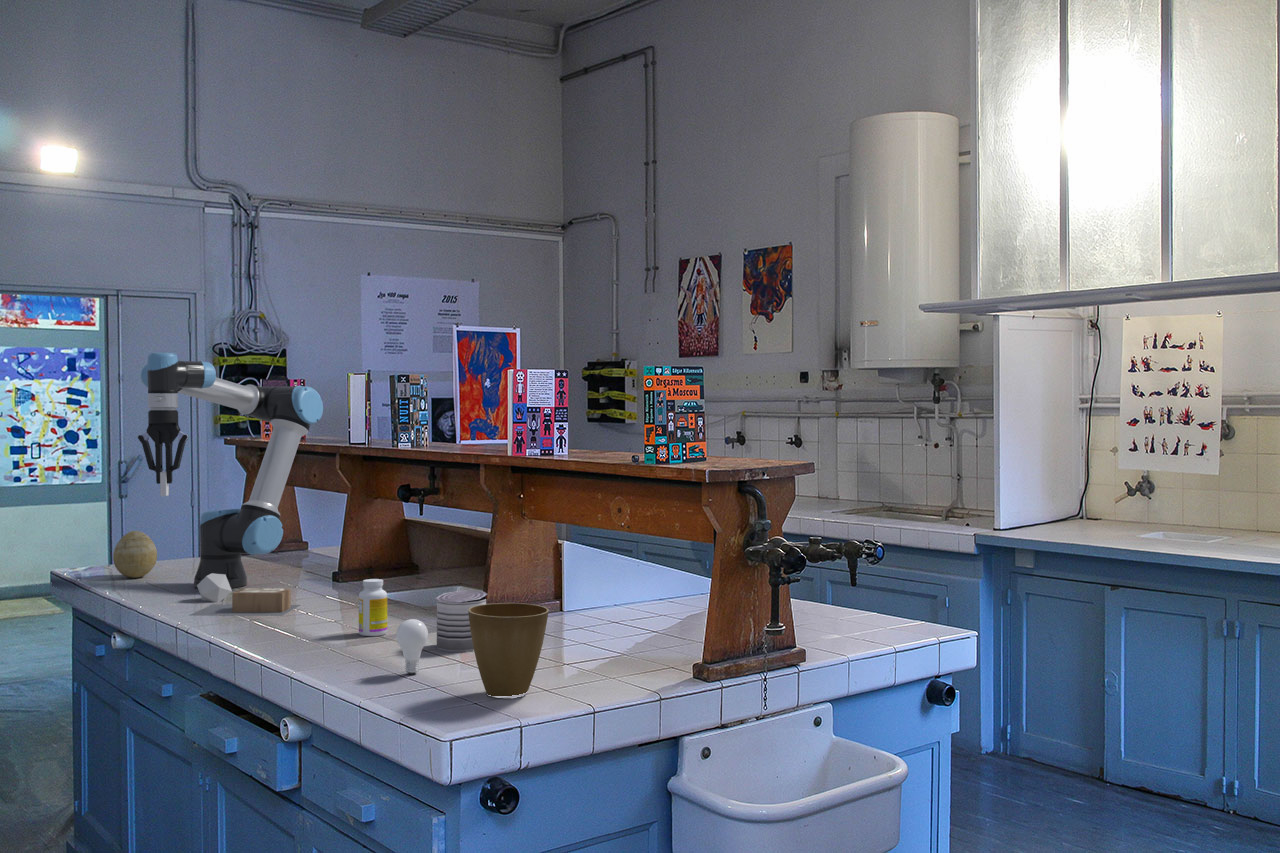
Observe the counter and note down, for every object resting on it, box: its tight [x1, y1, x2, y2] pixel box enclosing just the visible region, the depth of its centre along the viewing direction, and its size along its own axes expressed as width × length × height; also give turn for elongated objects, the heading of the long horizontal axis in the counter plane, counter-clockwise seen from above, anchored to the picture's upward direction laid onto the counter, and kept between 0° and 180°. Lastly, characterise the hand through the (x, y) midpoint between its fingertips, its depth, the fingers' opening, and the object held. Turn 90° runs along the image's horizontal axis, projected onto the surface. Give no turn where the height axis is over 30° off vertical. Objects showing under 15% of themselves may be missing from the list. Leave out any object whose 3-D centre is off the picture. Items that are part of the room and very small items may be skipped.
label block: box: [231, 588, 292, 612], centre depth 285 cm, size 7×5×13 cm
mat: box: [189, 604, 301, 617], centre depth 285 cm, size 16×24×1 cm, turn 91°
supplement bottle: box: [358, 578, 388, 637], centre depth 257 cm, size 7×7×13 cm
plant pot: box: [468, 602, 550, 696], centre depth 201 cm, size 15×15×16 cm
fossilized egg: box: [112, 530, 158, 579], centre depth 344 cm, size 13×13×15 cm
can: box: [434, 589, 489, 653], centre depth 243 cm, size 11×11×12 cm
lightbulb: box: [395, 618, 429, 675], centre depth 217 cm, size 6×6×11 cm
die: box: [197, 573, 233, 603], centre depth 300 cm, size 8×9×10 cm
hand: (164, 495), depth 295 cm, fingers closed
